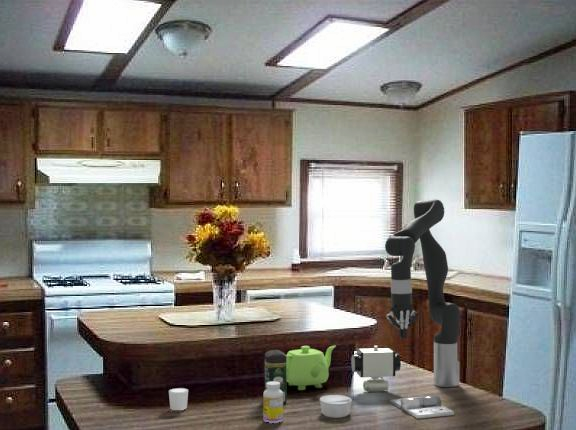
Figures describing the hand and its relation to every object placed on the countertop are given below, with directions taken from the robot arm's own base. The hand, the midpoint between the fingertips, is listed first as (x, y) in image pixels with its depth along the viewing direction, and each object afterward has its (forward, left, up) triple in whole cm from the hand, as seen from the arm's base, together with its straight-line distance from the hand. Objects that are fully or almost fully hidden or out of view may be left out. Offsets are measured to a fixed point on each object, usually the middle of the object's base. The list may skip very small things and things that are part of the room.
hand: (402, 338), depth 257 cm
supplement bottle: (+51, +5, -24) cm, 56 cm away
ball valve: (+2, -19, -24) cm, 31 cm away
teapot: (+23, -33, -24) cm, 47 cm away
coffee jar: (+43, -18, -24) cm, 52 cm away
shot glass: (+79, -18, -24) cm, 84 cm away
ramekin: (+28, +4, -24) cm, 37 cm away
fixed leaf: (-3, +3, -24) cm, 24 cm away
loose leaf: (-3, +12, -24) cm, 27 cm away
